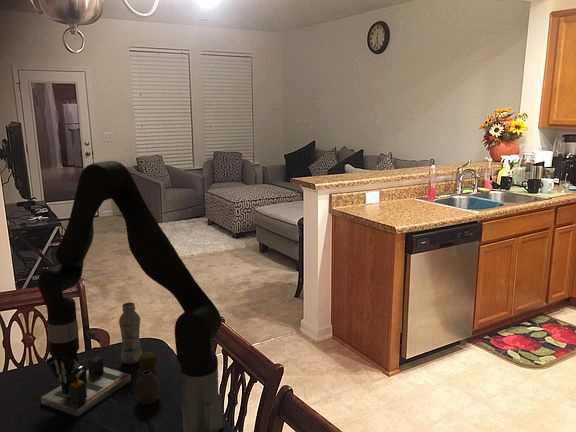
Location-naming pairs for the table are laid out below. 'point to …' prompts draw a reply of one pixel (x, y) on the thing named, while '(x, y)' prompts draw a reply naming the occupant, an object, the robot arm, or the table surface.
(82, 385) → the breaker handle
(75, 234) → the robot arm
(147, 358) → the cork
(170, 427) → the table surface
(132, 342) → the plastic bottle
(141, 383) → the vase
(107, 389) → the breaker panel
